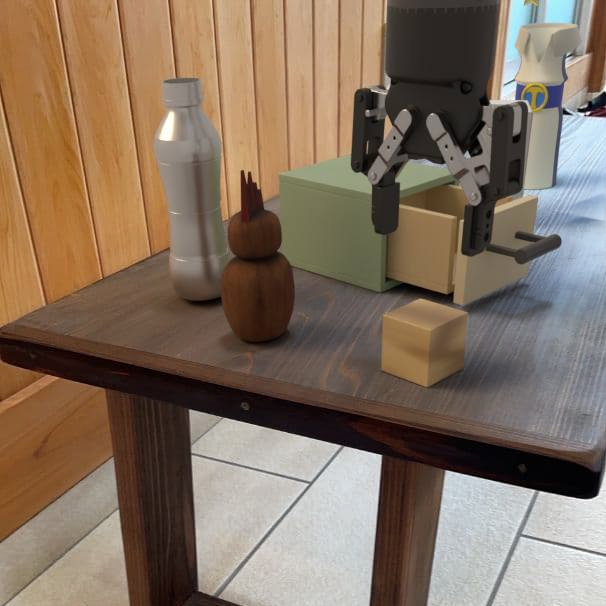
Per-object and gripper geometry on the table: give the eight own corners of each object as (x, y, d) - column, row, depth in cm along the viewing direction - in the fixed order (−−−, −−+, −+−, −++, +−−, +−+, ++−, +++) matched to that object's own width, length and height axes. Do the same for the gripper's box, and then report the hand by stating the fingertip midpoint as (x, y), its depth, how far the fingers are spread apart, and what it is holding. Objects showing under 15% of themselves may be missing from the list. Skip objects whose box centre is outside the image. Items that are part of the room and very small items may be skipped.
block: (417, 352, 76) (420, 297, 73) (463, 368, 73) (468, 312, 70) (380, 370, 73) (382, 314, 70) (427, 387, 70) (430, 330, 67)
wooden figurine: (258, 354, 76) (247, 178, 67) (213, 339, 79) (197, 168, 71) (307, 331, 80) (303, 161, 72) (262, 317, 84) (253, 153, 75)
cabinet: (453, 262, 95) (460, 170, 89) (380, 292, 88) (382, 196, 82) (356, 237, 104) (356, 152, 98) (282, 263, 96) (278, 173, 91)
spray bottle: (555, 192, 117) (585, -25, 102) (493, 187, 120) (514, -25, 105) (565, 178, 123) (595, -29, 109) (506, 173, 126) (528, -29, 111)
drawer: (568, 285, 86) (581, 204, 81) (504, 317, 79) (514, 232, 75) (425, 248, 96) (429, 176, 92) (358, 275, 90) (359, 198, 85)
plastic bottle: (245, 289, 90) (230, 76, 78) (214, 312, 85) (193, 88, 73) (192, 282, 92) (170, 73, 80) (159, 303, 87) (130, 85, 75)
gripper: (567, -3, 55) (532, 250, 65) (396, -9, 63) (388, 216, 73) (500, 6, 51) (474, 275, 60) (327, -2, 59) (328, 236, 69)
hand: (427, 242), depth 67 cm, fingers open, 8 cm apart
